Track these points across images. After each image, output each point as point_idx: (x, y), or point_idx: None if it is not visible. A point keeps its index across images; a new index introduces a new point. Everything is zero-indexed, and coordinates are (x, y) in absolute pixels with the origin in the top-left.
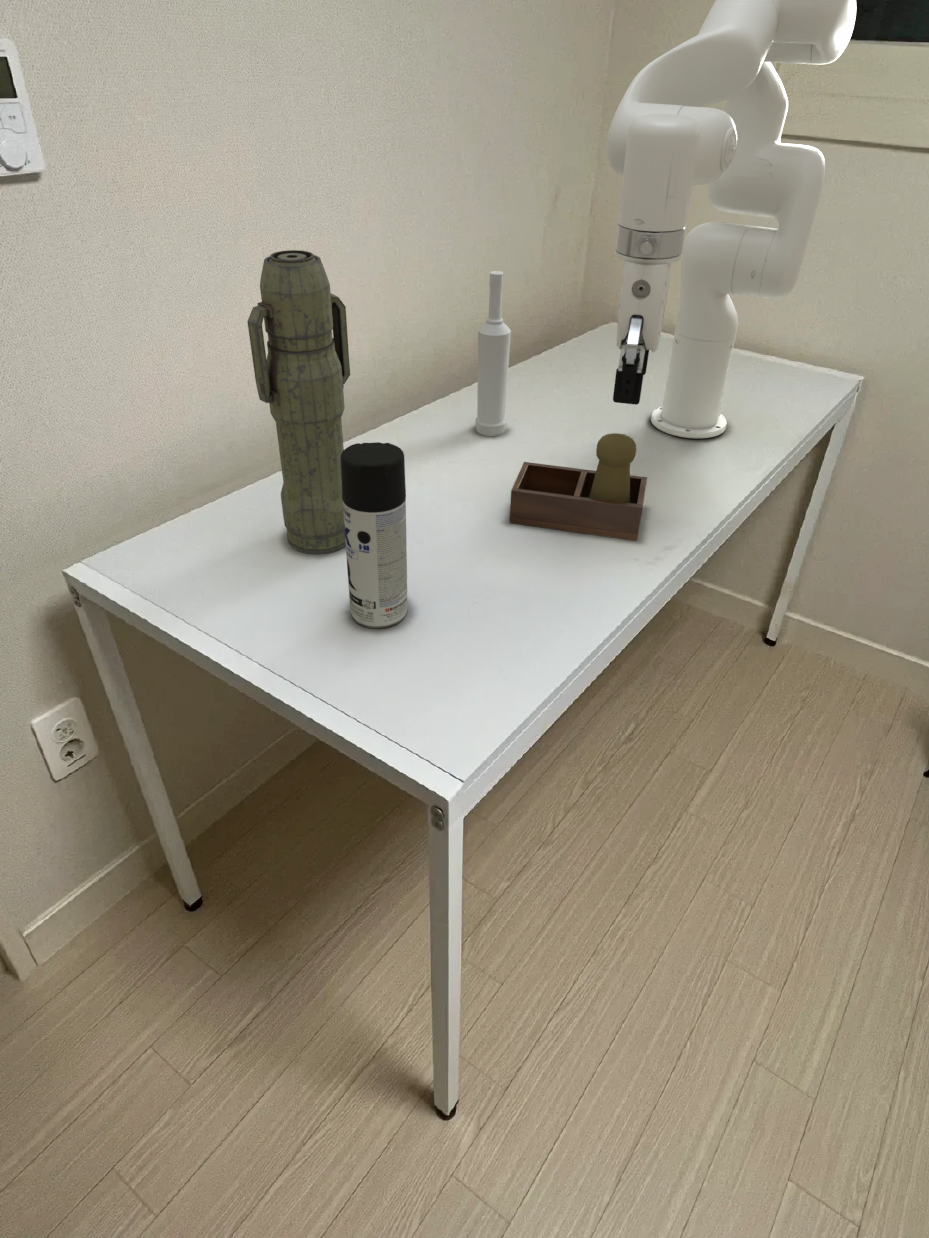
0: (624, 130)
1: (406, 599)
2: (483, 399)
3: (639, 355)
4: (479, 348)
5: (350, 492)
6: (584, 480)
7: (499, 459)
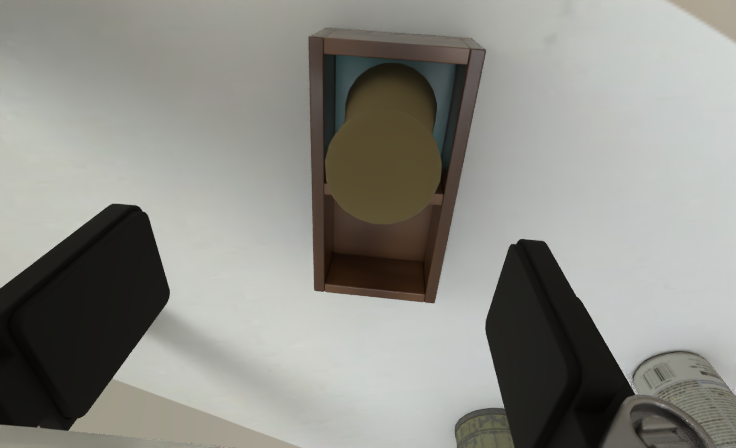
0: None
1: (699, 371)
2: None
3: (88, 310)
4: None
5: None
6: None
7: (221, 288)
